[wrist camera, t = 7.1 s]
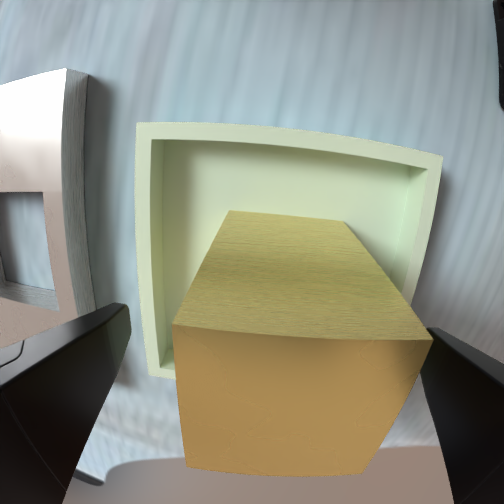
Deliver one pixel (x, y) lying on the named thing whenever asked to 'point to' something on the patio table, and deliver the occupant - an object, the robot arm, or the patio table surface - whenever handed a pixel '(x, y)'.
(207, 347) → the wooden beam piece
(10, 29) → the patio table surface
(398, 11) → the patio table surface
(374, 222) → the tray
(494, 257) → the patio table surface
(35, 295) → the brown rectangular frame
